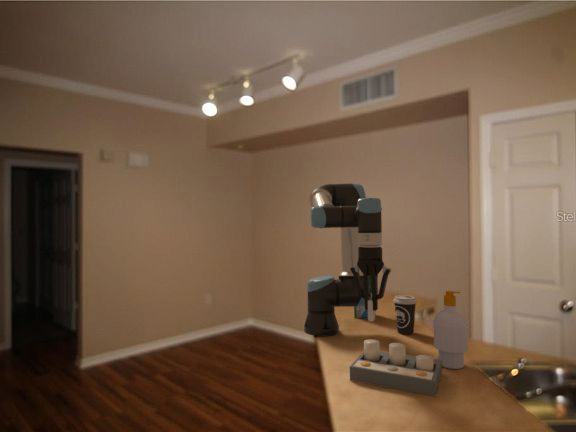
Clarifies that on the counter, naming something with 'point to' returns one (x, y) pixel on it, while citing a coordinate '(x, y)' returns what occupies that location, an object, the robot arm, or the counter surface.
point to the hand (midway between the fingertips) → (371, 320)
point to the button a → (371, 350)
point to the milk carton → (363, 307)
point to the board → (397, 374)
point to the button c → (424, 362)
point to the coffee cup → (405, 313)
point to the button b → (397, 354)
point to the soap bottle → (451, 333)
